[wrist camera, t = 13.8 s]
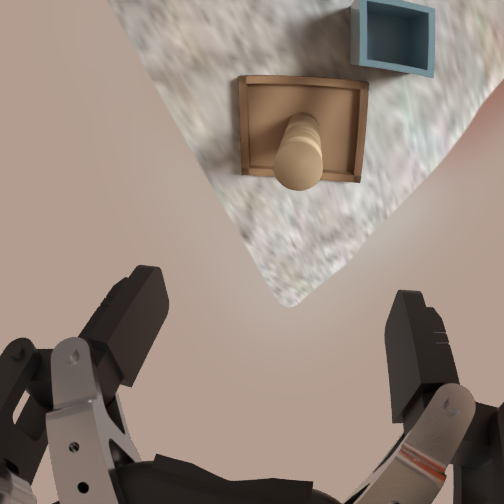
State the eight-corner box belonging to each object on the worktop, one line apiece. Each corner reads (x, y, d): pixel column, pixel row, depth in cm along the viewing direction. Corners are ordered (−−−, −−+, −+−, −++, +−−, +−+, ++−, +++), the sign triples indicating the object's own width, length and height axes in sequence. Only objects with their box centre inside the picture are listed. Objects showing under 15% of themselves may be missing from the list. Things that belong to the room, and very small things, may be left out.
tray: (366, 81, 28) (368, 82, 26) (358, 177, 34) (360, 183, 33) (241, 75, 30) (238, 76, 28) (244, 169, 36) (241, 174, 35)
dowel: (319, 113, 30) (324, 145, 19) (318, 142, 32) (321, 192, 21) (288, 111, 31) (273, 142, 19) (288, 140, 32) (273, 189, 21)
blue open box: (411, 16, 22) (434, 8, 17) (410, 73, 26) (433, 78, 20) (349, 6, 23) (359, -7, 18) (349, 64, 27) (359, 65, 21)
